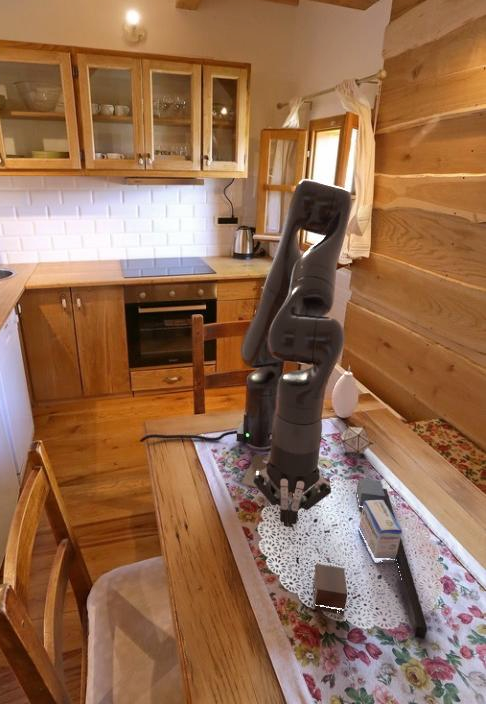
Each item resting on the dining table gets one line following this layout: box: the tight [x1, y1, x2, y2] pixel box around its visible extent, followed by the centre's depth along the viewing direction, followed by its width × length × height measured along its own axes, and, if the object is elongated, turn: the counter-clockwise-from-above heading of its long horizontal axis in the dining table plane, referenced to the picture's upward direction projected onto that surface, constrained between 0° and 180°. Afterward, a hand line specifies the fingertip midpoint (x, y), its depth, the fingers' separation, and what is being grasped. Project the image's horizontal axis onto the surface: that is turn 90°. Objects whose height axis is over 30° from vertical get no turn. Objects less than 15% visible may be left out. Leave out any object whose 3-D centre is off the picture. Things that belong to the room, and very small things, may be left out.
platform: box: [241, 452, 323, 498], centre depth 101 cm, size 12×18×7 cm, turn 69°
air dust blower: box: [331, 365, 359, 419], centre depth 126 cm, size 8×8×18 cm
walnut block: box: [312, 563, 348, 616], centre depth 72 cm, size 5×5×5 cm
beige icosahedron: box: [337, 423, 374, 457], centre depth 111 cm, size 9×8×10 cm
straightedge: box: [383, 488, 428, 639], centre depth 82 cm, size 2×32×2 cm, turn 170°
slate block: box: [355, 477, 385, 512], centre depth 94 cm, size 5×5×5 cm
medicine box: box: [357, 500, 403, 564], centre depth 82 cm, size 8×4×9 cm, turn 5°
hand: (287, 522), depth 69 cm, fingers closed
